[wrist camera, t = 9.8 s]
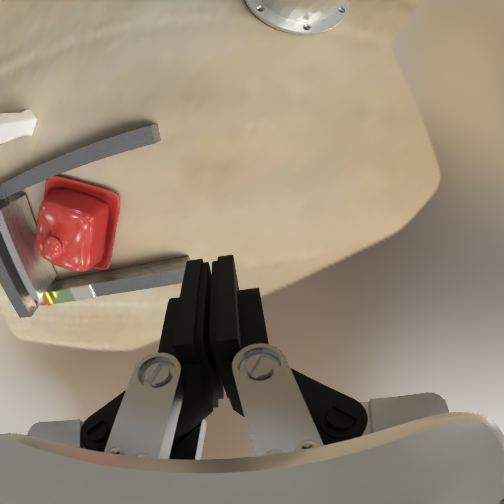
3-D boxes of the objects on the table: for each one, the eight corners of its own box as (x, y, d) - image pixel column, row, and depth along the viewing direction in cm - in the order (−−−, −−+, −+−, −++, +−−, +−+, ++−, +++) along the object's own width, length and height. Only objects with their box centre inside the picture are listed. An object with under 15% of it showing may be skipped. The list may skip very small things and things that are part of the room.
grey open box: (-8, 189, 28) (-32, 203, 22) (157, 123, 28) (143, 126, 23) (35, 295, 37) (20, 317, 31) (192, 268, 37) (188, 295, 32)
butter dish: (51, 170, 29) (14, 189, 21) (126, 190, 32) (100, 215, 24) (45, 246, 33) (16, 276, 26) (112, 268, 36) (92, 305, 29)
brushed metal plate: (18, 197, 29) (-6, 213, 24) (25, 194, 29) (0, 210, 24) (56, 290, 36) (40, 314, 31) (63, 289, 36) (47, 313, 31)
